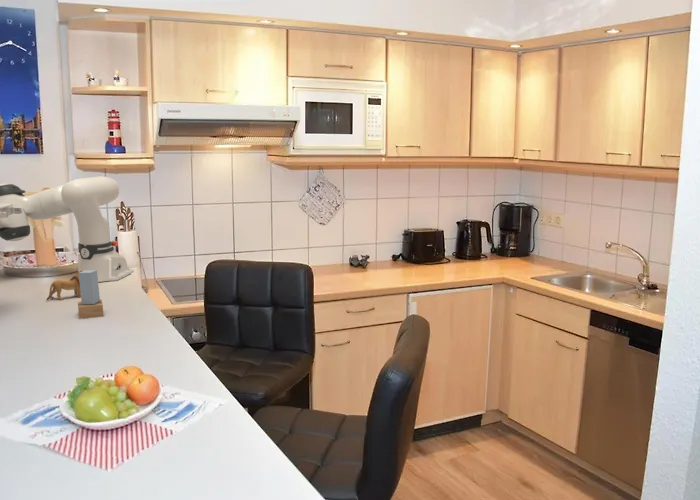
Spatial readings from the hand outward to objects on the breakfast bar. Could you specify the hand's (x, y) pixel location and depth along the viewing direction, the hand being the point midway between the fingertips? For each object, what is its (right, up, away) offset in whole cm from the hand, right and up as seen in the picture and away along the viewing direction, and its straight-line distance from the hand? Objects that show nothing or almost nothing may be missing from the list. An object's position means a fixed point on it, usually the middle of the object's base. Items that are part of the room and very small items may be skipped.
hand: (14, 212), depth 202 cm
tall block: (+22, -28, +4) cm, 36 cm away
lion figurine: (+7, -28, +25) cm, 38 cm away
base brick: (+22, -32, +5) cm, 39 cm away
